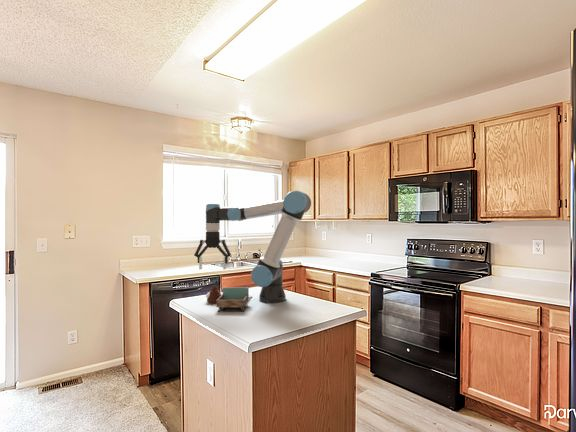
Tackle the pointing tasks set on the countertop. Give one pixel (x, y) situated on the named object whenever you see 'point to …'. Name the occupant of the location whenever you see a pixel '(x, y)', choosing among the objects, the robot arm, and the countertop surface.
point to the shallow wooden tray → (233, 298)
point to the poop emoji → (213, 295)
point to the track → (233, 311)
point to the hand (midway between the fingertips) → (212, 269)
